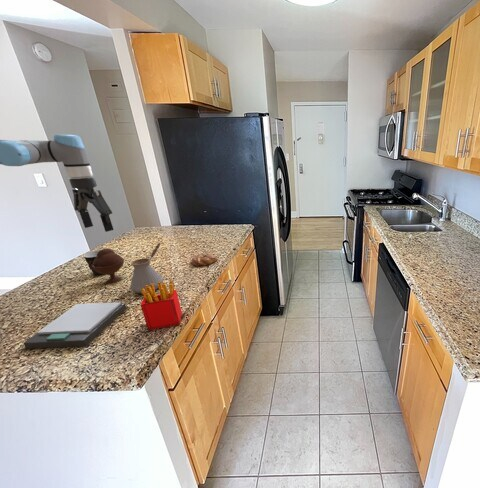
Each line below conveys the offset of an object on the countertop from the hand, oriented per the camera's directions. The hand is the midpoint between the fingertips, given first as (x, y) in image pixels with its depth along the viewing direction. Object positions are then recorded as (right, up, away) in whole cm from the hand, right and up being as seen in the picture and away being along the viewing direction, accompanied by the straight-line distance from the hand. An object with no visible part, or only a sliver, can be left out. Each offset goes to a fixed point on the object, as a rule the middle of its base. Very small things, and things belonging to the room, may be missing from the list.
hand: (99, 228), depth 109 cm
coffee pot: (+21, -24, +4) cm, 32 cm away
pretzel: (+34, -16, +23) cm, 44 cm away
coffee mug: (-9, -21, +11) cm, 25 cm away
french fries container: (+41, -33, -20) cm, 57 cm away
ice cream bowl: (+2, -23, +5) cm, 24 cm away
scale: (+14, -34, -23) cm, 44 cm away
